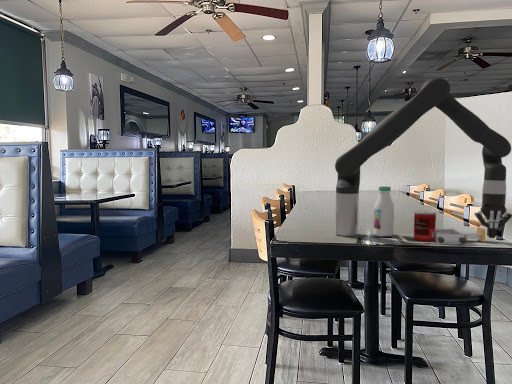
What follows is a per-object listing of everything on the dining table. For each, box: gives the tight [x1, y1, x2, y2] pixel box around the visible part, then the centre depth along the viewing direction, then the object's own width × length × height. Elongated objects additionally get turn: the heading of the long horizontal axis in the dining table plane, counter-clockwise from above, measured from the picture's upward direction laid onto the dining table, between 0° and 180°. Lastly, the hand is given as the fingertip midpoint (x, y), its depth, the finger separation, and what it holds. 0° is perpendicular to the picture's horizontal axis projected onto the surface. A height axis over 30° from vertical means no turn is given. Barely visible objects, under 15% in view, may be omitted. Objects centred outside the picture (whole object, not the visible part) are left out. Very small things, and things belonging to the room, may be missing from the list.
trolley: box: [434, 227, 487, 244], centre depth 149 cm, size 18×15×4 cm
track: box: [397, 234, 490, 246], centre depth 150 cm, size 29×15×1 cm, turn 82°
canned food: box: [413, 209, 437, 242], centre depth 151 cm, size 8×8×11 cm
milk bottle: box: [373, 185, 395, 237], centre depth 160 cm, size 8×8×20 cm
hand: (491, 237), depth 148 cm, fingers closed
